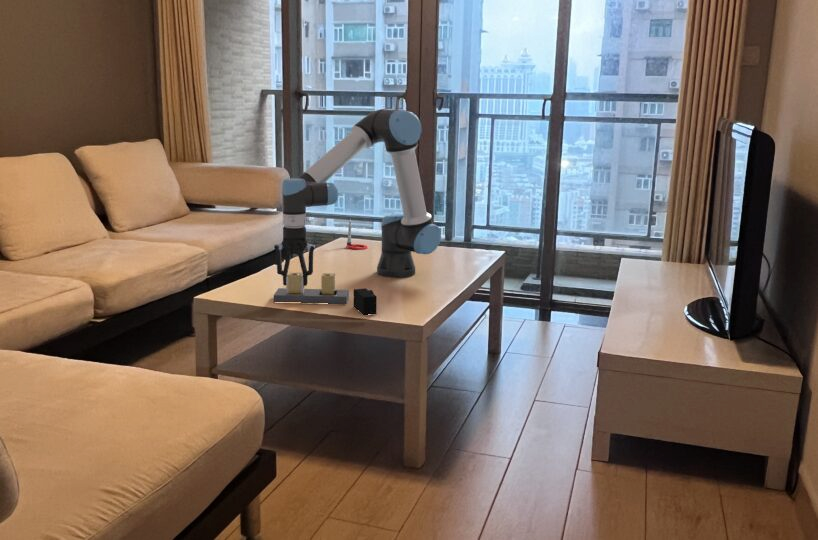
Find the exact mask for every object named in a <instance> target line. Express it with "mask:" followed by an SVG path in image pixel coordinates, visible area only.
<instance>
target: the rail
mask: <svg viewBox="0 0 818 540" xmlns="http://www.w3.org/2000/svg"><path fill="white" fill-rule="evenodd" d="M349 299H350V290H349V289H335V295H322V288H320V289H319V288H304V293H303V294H286V287H285V288H283V287H282V288H277V290H276V291H275V293H274V294H273V303H274V302H301V303H328V304H348V302H349ZM347 301H348V302H347Z"/></svg>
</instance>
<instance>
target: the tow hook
mask: <svg viewBox="0 0 818 540" xmlns="http://www.w3.org/2000/svg"><path fill="white" fill-rule="evenodd" d="M348 221H349V223H348V232H347V242H346V247H345V249H346V250H349V249H351V250H355V251H356V250H357V251H358V250H361V251H363V250H367V249H368V246H367V245H365V244H359V243H353V244H352V219H349V220H348Z"/></svg>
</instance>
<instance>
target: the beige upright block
mask: <svg viewBox="0 0 818 540" xmlns="http://www.w3.org/2000/svg"><path fill="white" fill-rule="evenodd" d="M335 282H336V273H330V272H329V273H327V272H324V273H322V275H321V282H320V283H321V286H320V287H321V289H322V295H335V290H336V283H335Z"/></svg>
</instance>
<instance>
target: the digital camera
mask: <svg viewBox="0 0 818 540" xmlns="http://www.w3.org/2000/svg"><path fill="white" fill-rule="evenodd" d="M377 299H378V298H377V295H376V294H375V293H374V291H373V290H372V289H368V288H365V287H364V288H355V289H353V308H354V307H355V308H356V309H357V310H359V311H360V312H361V313H362V314H363V315H368V314H376V315H377V301H378V300H377ZM355 308H354V309H355ZM356 309H355V310H356ZM357 310H356V311H357ZM360 312H359V313H360ZM361 313H360V314H361ZM362 314H361V315H362ZM363 315H362V316H363Z"/></svg>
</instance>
